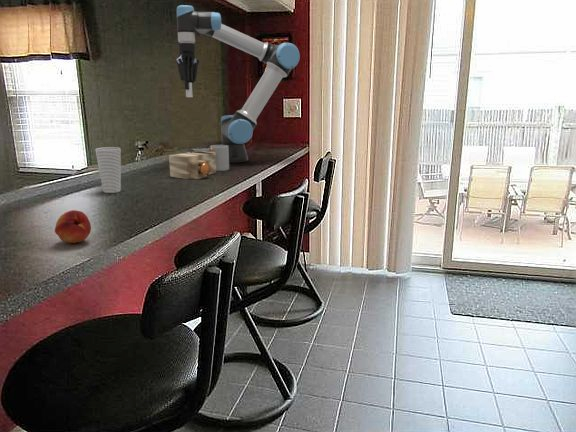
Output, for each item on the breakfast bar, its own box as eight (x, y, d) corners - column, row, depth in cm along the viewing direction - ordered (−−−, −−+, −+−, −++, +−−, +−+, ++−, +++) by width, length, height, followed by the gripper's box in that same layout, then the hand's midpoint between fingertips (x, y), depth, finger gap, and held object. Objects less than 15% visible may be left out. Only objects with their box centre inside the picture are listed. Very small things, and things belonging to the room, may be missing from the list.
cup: (100, 194, 163) (95, 150, 159) (98, 190, 171) (94, 147, 167) (125, 192, 167) (122, 149, 163) (123, 188, 174) (119, 146, 170)
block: (199, 170, 213) (198, 146, 210) (222, 173, 206) (221, 149, 203) (170, 176, 198) (168, 151, 195) (193, 179, 191) (192, 153, 188)
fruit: (56, 249, 107) (52, 216, 105) (56, 240, 114) (52, 208, 112) (93, 245, 110) (89, 212, 108) (91, 236, 117) (88, 205, 115)
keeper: (198, 151, 209) (198, 147, 209) (216, 150, 203) (216, 147, 203) (191, 152, 205) (190, 148, 205) (209, 152, 199) (208, 148, 199)
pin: (182, 170, 204) (181, 159, 203) (211, 174, 195) (210, 162, 194) (174, 171, 200) (173, 160, 199) (203, 175, 191) (202, 164, 190)
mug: (231, 168, 219) (230, 145, 216) (225, 171, 211) (225, 147, 208) (207, 167, 221) (206, 144, 219) (200, 170, 213) (199, 146, 210)
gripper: (190, 44, 217) (193, 96, 223) (170, 42, 206) (173, 97, 212) (202, 43, 213) (205, 97, 219) (182, 41, 202) (185, 97, 208)
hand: (189, 97), depth 216 cm, fingers closed
